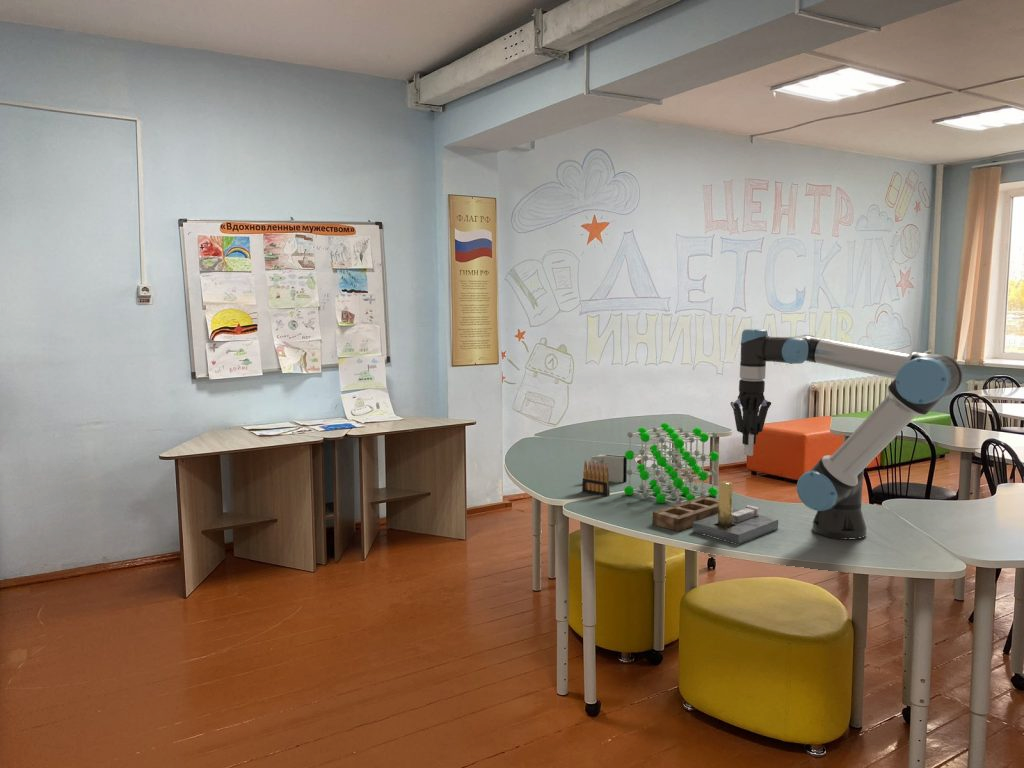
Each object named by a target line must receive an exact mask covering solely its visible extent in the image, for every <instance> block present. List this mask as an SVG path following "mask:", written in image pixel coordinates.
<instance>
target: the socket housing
mask: <svg viewBox="0 0 1024 768" xmlns="http://www.w3.org/2000/svg"><path fill="white" fill-rule="evenodd" d="M740 510H741V509H736V508H732V513H734V512H737V511H740ZM776 529H777V530H778V529H779V519H778V518H774V517H768V516H766V515H765V516H764V515H761V514H759V516H755V517H752V518H749V519H746V520H744V521H741V522H738V523H737V522H733V521H732V527H730V528H728V529H727V528H723V527H719V526H718V514H716V515H713V516H710V517H707V518H704V519H701V520H698V521H695V522H693V527H692V530H691V531H693V532H692V533H694V532H697V533H696V534H698V533H700V534H699V535H702V534H705V535H709V536H712V537H716V538H719V539H722V540H721V541H723V540H726V541H725V542H727V541H729V542H728V543H730V542H733V543H732V544H734V543H736V544H735V545H737V544H739V545H742V544H744V543H747V542H749V541H752V540H754V539H757V538H759V537H762V536H764V535H766V533H767V534H769V533H771V531H772V532H774V531H776ZM773 530H774V531H773ZM768 532H769V533H768ZM763 534H764V535H763ZM705 535H704V536H705ZM761 535H762V536H761ZM709 536H708V537H709ZM712 537H711V538H712ZM756 537H757V538H756ZM716 538H715V539H716ZM719 539H718V540H719ZM751 539H752V540H751ZM746 541H747V542H746ZM741 543H742V544H741Z"/></svg>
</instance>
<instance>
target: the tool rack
mask: <svg viewBox="0 0 1024 768" xmlns="http://www.w3.org/2000/svg"><path fill="white" fill-rule="evenodd" d="M718 502H719V498H714V497H711V496H710V497H709V496H707V495H706V496H703V497H699V498H696V499H693V500H690V501H687V502H684V503H680V504H677V505H676V504H675V505H671V506H668V507H665V508H662V509H659V510H655V511H652V521H651V522H652V523H651V525H653V524H655V525H654V526H656V525H658V526H657V527H660V526H661V527H660V528H664V527H665V528H664V529H667V528H669V529H668V530H671V529H672V530H671V531H674V530H675V532H682V531H684V529H685V530H687V528H688V529H690V527H691V528H693V527H692V526H693V522H695V521H698V520H701V519H704V518H707V517H710V516H713V515H716V514H718ZM681 530H682V531H681Z"/></svg>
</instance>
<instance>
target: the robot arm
mask: <svg viewBox="0 0 1024 768" xmlns="http://www.w3.org/2000/svg"><path fill="white" fill-rule="evenodd" d="M767 362H771V363H773V362H774V363H783V364H790V365H795V364H796V365H798V364H801V365H802V364H803V363H804V362H809V363H817V364H822V365H826V366H830V367H836V368H841V369H845V370H851V371H855V372H859V373H863V374H869V375H874V376H879V377H883V378H888V379H893V381H891V383H889V385H888V387H887V392H888V395H886V397H885V398H884V399H883V400H882V402H880V404H879V405H877V407H876V408H875V409H874V410H873V411H872V412H871V413H870V414H869V415H868V416H867V417H866V418H865V420H864V421H862V422H861V424H860V425H859V426H858V427H857V428H856V429H855V430H854V431H853V432H852V434H850V436H849V437H847V439H846V440H845V441H844V442H843V443H842V444H841V445H840V446H839V447H838V448H837V450H835V451H834V453H833V454H831V455H830V454H829V455H828V454H826V455H824V456H822V457H821V458H820V459H819V460H818V461H817V463H816V464H815V465H814V466H813V467H812V468H811V469H810V470H809V471H805V472H804V473H803V474H802V475H800V477H799V478H798V480H797V483H796V491H797V497H798V498H799V501H801V503H802V504H804V505H805V507H807V508H809V509H811V510H813V511H816V514H815V515H814V519H813V521H812V528H811V529H812V531H813V532H814V533H815V534H818V535H820V536H823V537H827V538H830V537H832V538H831V539H836V538H847V539H846V540H850V539H849V538H859V537H863V536H865V535H866V536H867V525H866V521H865V518H864V515H863V511H862V502H863V501H862V499H863V485H864V483H863V482H864V473H865V471H864V470H865V469H866V468H867V467H868V465H870V464H871V462H872V461H874V459H875V458H877V457H878V455H879V454H880V453H882V451H883V450H884V449H885V448H886V447H887V446H888V445H889V444H890V443H891V442H892V441H893V440H894V439H895V438H896V437H897V436H898V435H899V434H900V433H901V432H902V431H903V430H904V429H905V428H906V427H907V425H908V424H910V423H911V421H913V420H914V418H916V417H917V416H918V417H919V416H926V415H927V414H928V413H929V412H930V411H931V410H932V409H933V408H934V407H935V406H936V405H937V404H938V403H939V402H940V401H941V400H942V399H943V398H945V397H948V396H950V395H952V394H953V393H955V392H956V391H957V390H958V389H959V388H960V386H961V385H962V381H963V371H962V368H961V366H960V364H959V363H958V362H957V361H956V360H955V359H953V357H950V356H948V355H945V354H937V353H933V354H931V353H923V352H919V351H914V352H912V353H910V354H909V353H903V352H896V351H892V350H885V349H881V348H875V347H871V346H870V347H869V346H864V345H859V344H854V343H848V342H842V341H836V340H830V339H826V338H820V337H817V336H815V335H810V334H803V335H797V336H796V335H795V336H788V337H787V336H770V335H769V336H768V330H766V329H764V328H763V329H762V328H745V329H744V330H742V332H741V340H740V361H739V378H740V380H739V381H738V382H739V383H738V392H739V393H738V396H737V399H736V400H735V401H731V402H730V406H731V408H732V410H733V416H734V420H735V421H734V422H735V427H736V431H737V432H738V433H741V435H742V444H743V455H746V456H751V457H752V456H754V445H756V442H757V441H756V440H757V435H759V433H761V432H763V429H764V426H765V422H766V418H767V414H768V410H769V408H770V407H771V405H772V402H771V401H768V400H767V399H765V398H766V397H765V394H764V393H765V386H766V385H765V384H766V382H765V379H766V369H767V368H766V367H767V366H766V365H767ZM741 408H742V409H741ZM866 536H865V537H866Z"/></svg>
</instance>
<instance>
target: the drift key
mask: <svg viewBox="0 0 1024 768" xmlns="http://www.w3.org/2000/svg"><path fill="white" fill-rule="evenodd" d="M739 510H740V511H737V512H734V513H732V521H733V522H737V523H738V522H741V521H744V520H746V519H749V518H752V517H755V516H759V515H761V511H760V510H761V507H758V506H753V505H748V504H747V505H746V506H745V508H743V509H739Z"/></svg>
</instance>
